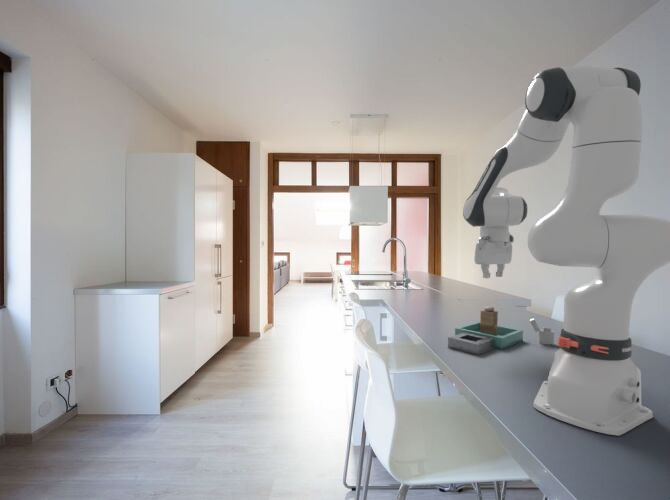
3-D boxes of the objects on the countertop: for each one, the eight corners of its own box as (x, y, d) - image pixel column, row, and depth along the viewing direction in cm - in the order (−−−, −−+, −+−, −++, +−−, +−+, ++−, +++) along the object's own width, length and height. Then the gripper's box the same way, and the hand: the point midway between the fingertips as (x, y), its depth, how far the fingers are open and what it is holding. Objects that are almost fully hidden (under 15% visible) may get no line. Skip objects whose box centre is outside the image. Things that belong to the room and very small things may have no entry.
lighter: (552, 343, 116) (553, 319, 116) (553, 344, 114) (554, 320, 114) (528, 341, 118) (529, 317, 118) (529, 342, 117) (530, 318, 116)
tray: (501, 349, 108) (502, 338, 108) (454, 338, 120) (455, 328, 120) (522, 340, 119) (523, 330, 119) (477, 331, 131) (477, 321, 131)
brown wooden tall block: (491, 339, 117) (492, 309, 117) (480, 336, 120) (480, 307, 120) (497, 337, 119) (497, 307, 119) (485, 334, 122) (486, 305, 122)
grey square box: (478, 354, 103) (478, 344, 103) (447, 346, 110) (448, 337, 110) (494, 348, 109) (494, 338, 109) (464, 341, 117) (464, 332, 117)
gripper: (489, 235, 109) (488, 279, 109) (515, 237, 123) (514, 276, 123) (470, 236, 114) (469, 278, 114) (497, 237, 127) (496, 275, 128)
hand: (493, 277), depth 119 cm, fingers open, 8 cm apart
